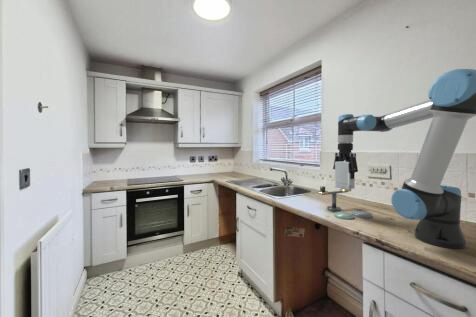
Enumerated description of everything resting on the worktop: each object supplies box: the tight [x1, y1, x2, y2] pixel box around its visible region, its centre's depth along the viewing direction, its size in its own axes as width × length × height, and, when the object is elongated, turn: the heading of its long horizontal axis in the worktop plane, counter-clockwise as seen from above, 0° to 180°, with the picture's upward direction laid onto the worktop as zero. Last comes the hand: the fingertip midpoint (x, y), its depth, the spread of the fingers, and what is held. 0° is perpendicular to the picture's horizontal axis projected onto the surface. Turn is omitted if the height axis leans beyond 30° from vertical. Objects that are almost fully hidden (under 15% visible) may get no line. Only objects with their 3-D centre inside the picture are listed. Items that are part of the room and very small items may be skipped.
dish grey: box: [351, 210, 373, 219], centre depth 120 cm, size 10×10×1 cm
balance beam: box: [316, 186, 352, 196], centre depth 132 cm, size 6×22×5 cm, turn 101°
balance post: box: [326, 193, 342, 212], centre depth 132 cm, size 8×8×10 cm
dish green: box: [333, 211, 355, 221], centre depth 118 cm, size 10×10×1 cm
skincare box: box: [334, 161, 356, 190], centre depth 117 cm, size 8×6×15 cm
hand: (344, 183), depth 117 cm, fingers closed on skincare box, 9 cm apart
